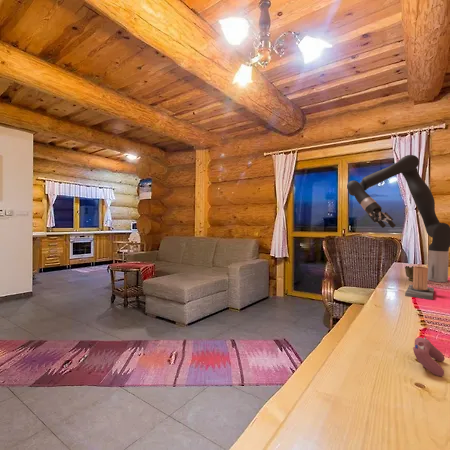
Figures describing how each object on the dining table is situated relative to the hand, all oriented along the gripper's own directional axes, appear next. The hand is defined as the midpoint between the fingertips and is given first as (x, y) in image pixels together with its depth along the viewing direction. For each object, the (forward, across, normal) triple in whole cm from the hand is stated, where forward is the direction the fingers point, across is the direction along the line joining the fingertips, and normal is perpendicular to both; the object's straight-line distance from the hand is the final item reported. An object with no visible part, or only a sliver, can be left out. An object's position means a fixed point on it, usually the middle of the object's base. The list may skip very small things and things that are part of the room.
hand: (389, 226), depth 155 cm
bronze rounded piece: (+24, +18, +20) cm, 36 cm away
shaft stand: (+36, -8, +7) cm, 38 cm away
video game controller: (+64, -78, -20) cm, 103 cm away
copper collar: (+35, -8, +6) cm, 36 cm away
